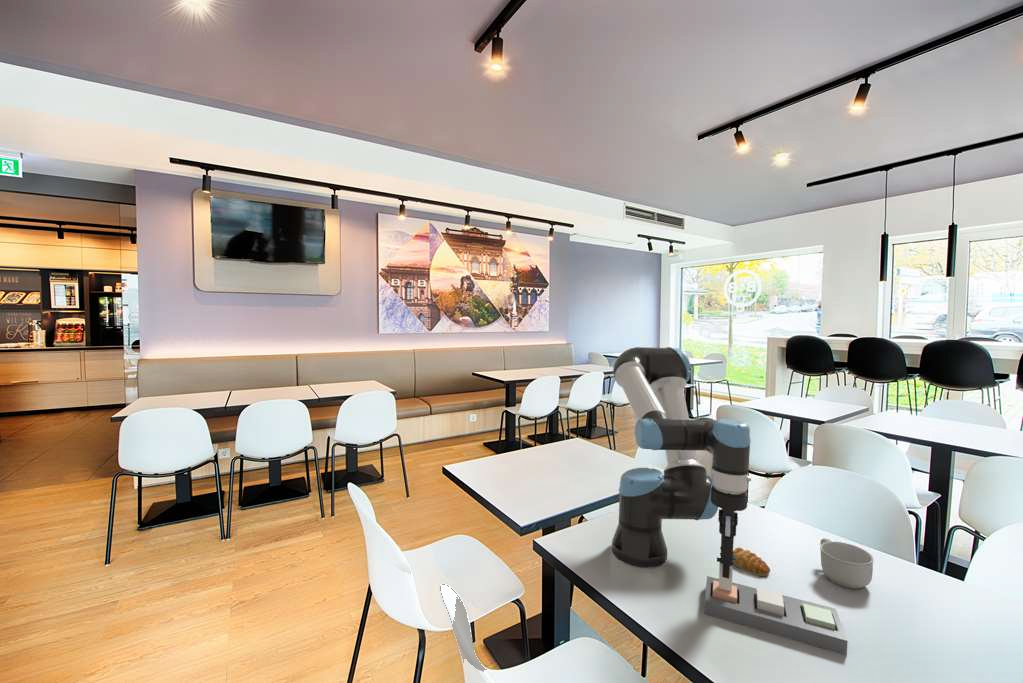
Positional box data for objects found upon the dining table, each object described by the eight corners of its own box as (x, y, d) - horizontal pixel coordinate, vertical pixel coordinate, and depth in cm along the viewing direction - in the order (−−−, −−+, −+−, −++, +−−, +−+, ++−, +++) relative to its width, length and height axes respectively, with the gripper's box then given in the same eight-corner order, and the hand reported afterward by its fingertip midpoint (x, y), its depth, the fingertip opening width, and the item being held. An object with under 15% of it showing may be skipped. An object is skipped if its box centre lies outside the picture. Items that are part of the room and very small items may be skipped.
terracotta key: (712, 602, 101) (712, 591, 100) (713, 590, 105) (713, 580, 105) (736, 609, 98) (737, 598, 98) (736, 596, 103) (736, 586, 103)
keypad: (704, 613, 99) (704, 601, 98) (706, 587, 108) (707, 575, 108) (846, 655, 87) (847, 640, 87) (835, 621, 97) (835, 608, 97)
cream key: (757, 610, 96) (757, 599, 96) (756, 598, 101) (756, 587, 101) (783, 618, 94) (784, 606, 94) (781, 604, 99) (782, 594, 99)
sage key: (805, 628, 92) (806, 616, 92) (802, 614, 97) (802, 603, 97) (834, 636, 90) (835, 624, 90) (829, 621, 95) (830, 610, 95)
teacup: (881, 597, 106) (883, 565, 105) (831, 591, 108) (833, 559, 108) (849, 565, 119) (851, 537, 119) (805, 560, 122) (807, 532, 121)
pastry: (775, 573, 116) (776, 559, 115) (761, 581, 112) (761, 566, 112) (741, 556, 124) (741, 543, 123) (726, 563, 120) (727, 549, 120)
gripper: (748, 501, 93) (744, 609, 94) (746, 482, 104) (742, 578, 106) (710, 494, 96) (706, 599, 97) (712, 476, 108) (708, 569, 109)
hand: (725, 588), depth 101 cm, fingers closed
